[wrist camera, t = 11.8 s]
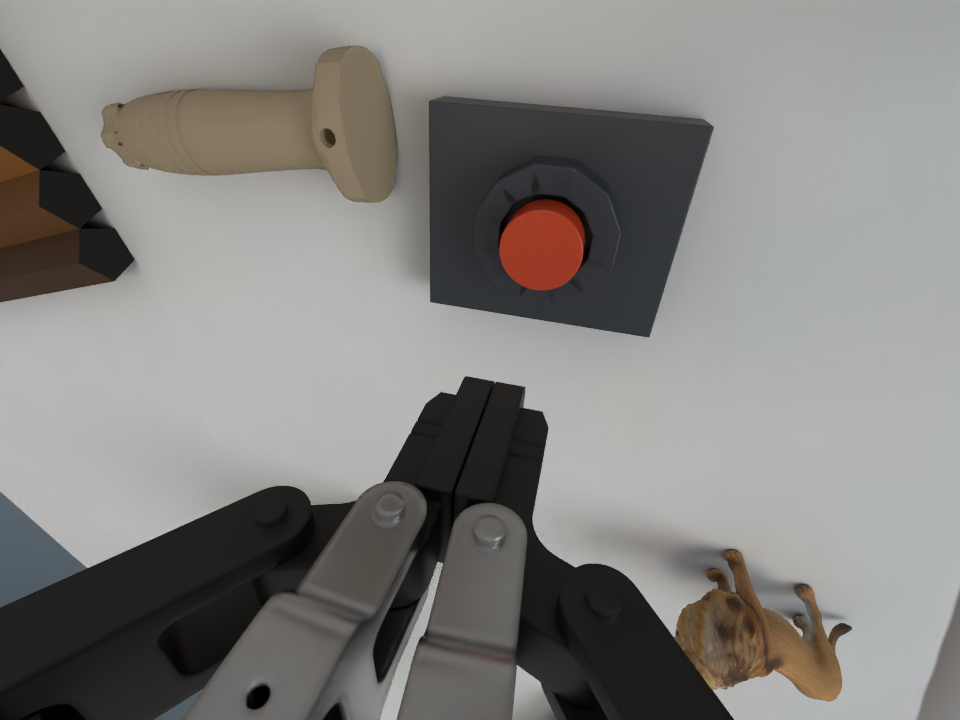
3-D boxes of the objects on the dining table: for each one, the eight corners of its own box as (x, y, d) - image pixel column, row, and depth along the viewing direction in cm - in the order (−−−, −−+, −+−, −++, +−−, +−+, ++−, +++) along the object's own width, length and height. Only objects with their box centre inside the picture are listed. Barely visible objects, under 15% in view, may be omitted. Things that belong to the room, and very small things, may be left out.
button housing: (705, 119, 20) (723, 133, 17) (646, 318, 26) (651, 356, 23) (443, 96, 22) (414, 104, 19) (441, 285, 28) (419, 317, 25)
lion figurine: (651, 564, 38) (661, 688, 30) (688, 528, 34) (708, 657, 27) (823, 633, 37) (874, 775, 30) (876, 603, 34) (947, 753, 27)
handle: (136, 65, 26) (382, 45, 22) (183, 186, 29) (403, 188, 25) (47, 69, 22) (326, 45, 18) (114, 207, 25) (359, 214, 21)
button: (592, 203, 20) (590, 215, 19) (577, 280, 22) (575, 296, 21) (510, 193, 21) (502, 204, 19) (503, 269, 23) (496, 284, 21)
